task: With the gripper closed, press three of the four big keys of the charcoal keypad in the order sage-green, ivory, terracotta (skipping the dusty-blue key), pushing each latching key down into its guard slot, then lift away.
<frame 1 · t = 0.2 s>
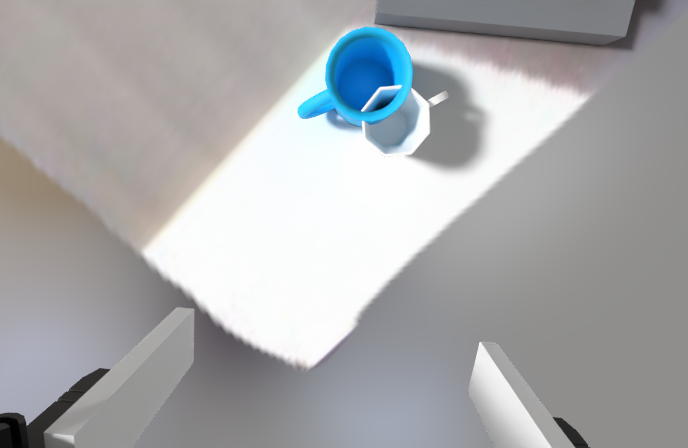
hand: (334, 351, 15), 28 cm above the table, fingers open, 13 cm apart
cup: (397, 120, 39), on the table, touching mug
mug: (349, 97, 39), on the table, touching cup
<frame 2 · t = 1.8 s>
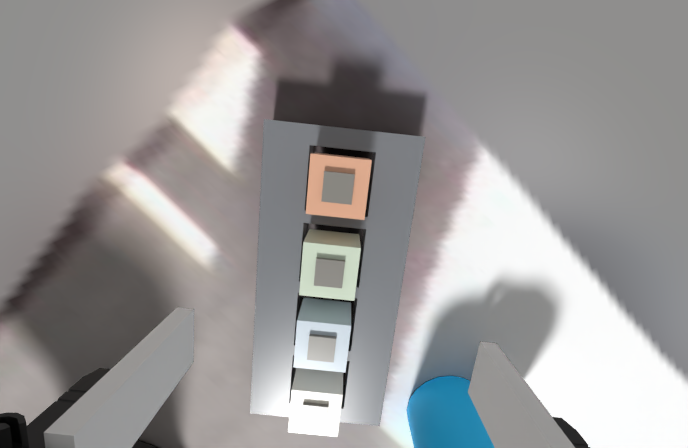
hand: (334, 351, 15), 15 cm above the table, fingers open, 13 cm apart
key sage: (330, 263, 25), point 5 cm above the table, slide at 0.0 cm
key terracotta: (338, 184, 23), point 5 cm above the table, slide at 0.0 cm
key ivory: (316, 397, 27), point 5 cm above the table, slide at 0.0 cm
key blue: (323, 334, 26), point 5 cm above the table, slide at 0.0 cm
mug: (450, 423, 34), on the table, touching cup
keypad: (330, 276, 30), on the table
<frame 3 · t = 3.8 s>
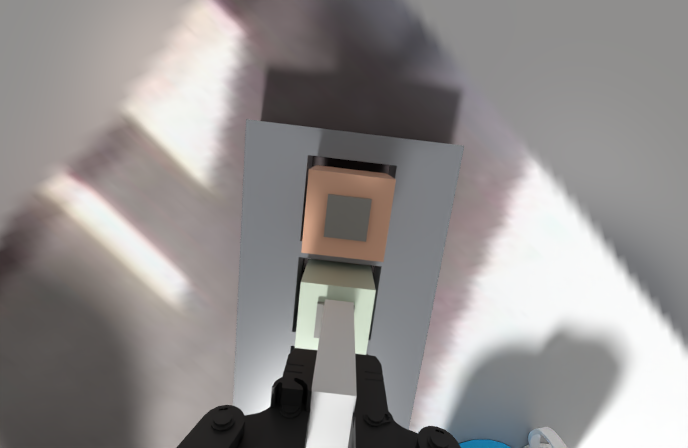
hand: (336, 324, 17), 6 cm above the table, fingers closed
key sage: (335, 305, 19), point 4 cm above the table, slide at 1.1 cm
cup: (533, 446, 26), on the table, touching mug
key terracotta: (347, 210, 17), point 5 cm above the table, slide at 0.0 cm
keypad: (332, 318, 24), on the table
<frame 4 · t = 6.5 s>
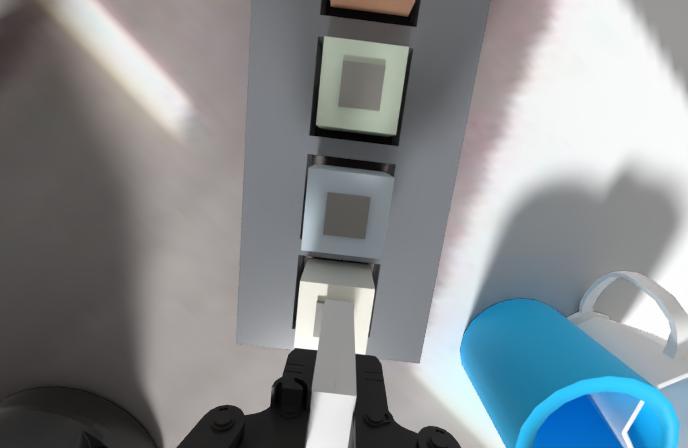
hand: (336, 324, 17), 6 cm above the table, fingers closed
key sage: (359, 92, 17), point 3 cm above the table, slide at 1.6 cm
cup: (581, 316, 24), on the table, touching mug
key ivory: (334, 304, 19), point 4 cm above the table, slide at 0.9 cm, touching gripper
key blue: (346, 208, 17), point 5 cm above the table, slide at 0.0 cm
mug: (511, 368, 25), on the table, touching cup
keypad: (351, 149, 21), on the table
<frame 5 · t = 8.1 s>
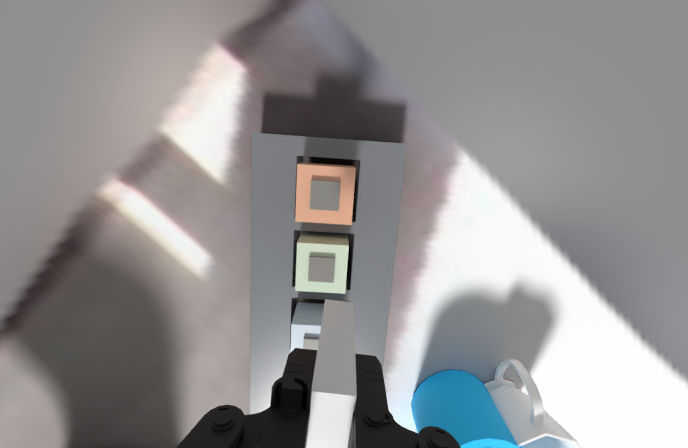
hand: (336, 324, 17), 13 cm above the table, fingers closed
key sage: (322, 261, 27), point 3 cm above the table, slide at 1.6 cm
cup: (497, 382, 34), on the table, touching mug
key terracotta: (325, 192, 24), point 5 cm above the table, slide at 0.0 cm
key blue: (317, 336, 27), point 5 cm above the table, slide at 0.0 cm
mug: (448, 417, 35), on the table, touching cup
keypad: (322, 280, 31), on the table
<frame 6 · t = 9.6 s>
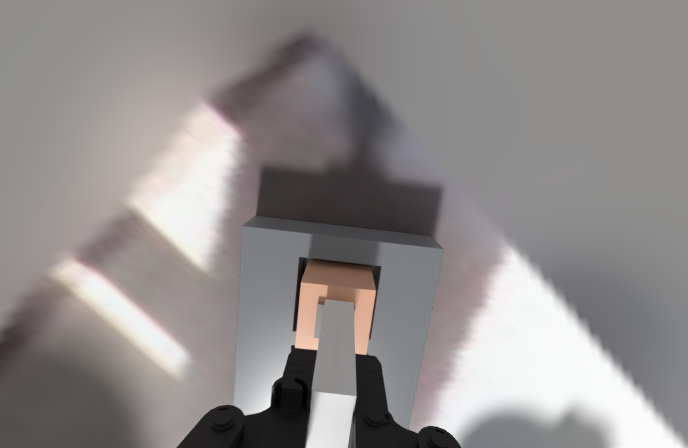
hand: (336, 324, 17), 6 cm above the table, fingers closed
key terracotta: (335, 305, 19), point 4 cm above the table, slide at 1.0 cm, touching gripper
keypad: (324, 388, 25), on the table
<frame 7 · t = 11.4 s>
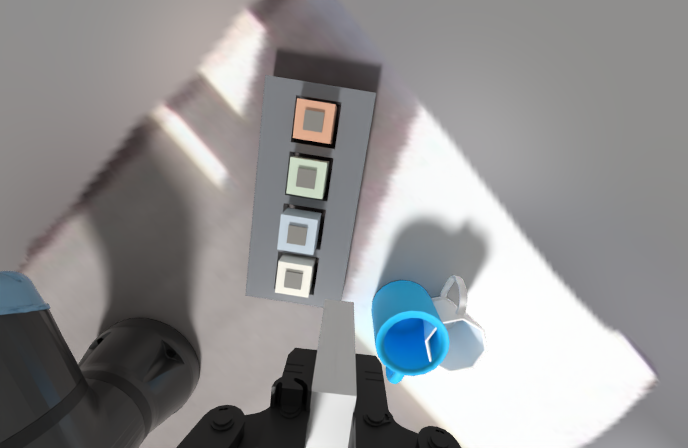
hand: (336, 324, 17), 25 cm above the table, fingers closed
key sage: (308, 176, 37), point 3 cm above the table, slide at 1.6 cm
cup: (441, 299, 44), on the table, touching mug
key terracotta: (315, 122, 36), point 3 cm above the table, slide at 1.6 cm
key ivory: (296, 274, 40), point 3 cm above the table, slide at 1.6 cm
key blue: (299, 230, 37), point 5 cm above the table, slide at 0.0 cm
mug: (397, 319, 45), on the table, touching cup
keypad: (309, 198, 41), on the table
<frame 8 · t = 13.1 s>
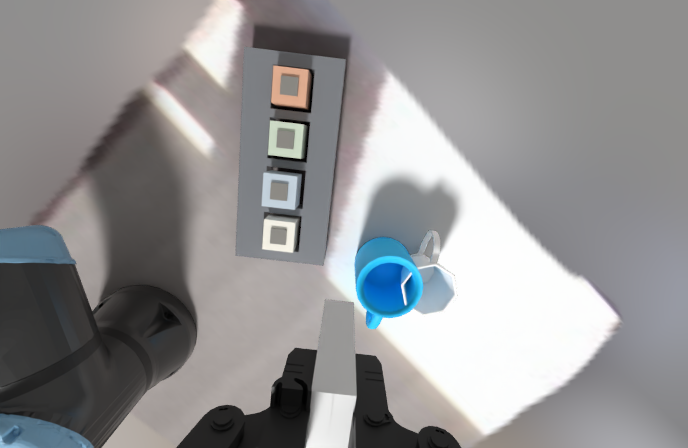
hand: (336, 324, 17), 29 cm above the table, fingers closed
key sage: (288, 140, 40), point 3 cm above the table, slide at 1.6 cm
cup: (419, 256, 47), on the table, touching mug
key terracotta: (292, 88, 39), point 3 cm above the table, slide at 1.6 cm
key ivory: (281, 232, 43), point 3 cm above the table, slide at 1.6 cm
key blue: (282, 189, 40), point 5 cm above the table, slide at 0.0 cm
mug: (378, 275, 48), on the table, touching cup
keypad: (290, 163, 44), on the table
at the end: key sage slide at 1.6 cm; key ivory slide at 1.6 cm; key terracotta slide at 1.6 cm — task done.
